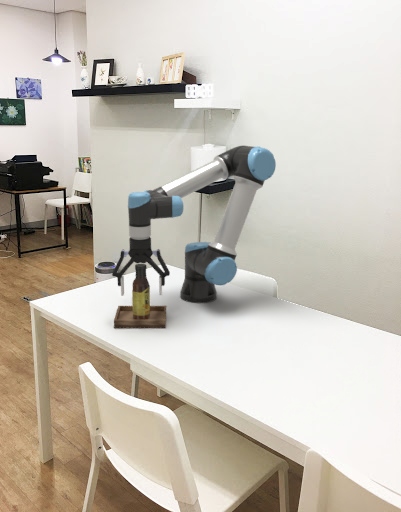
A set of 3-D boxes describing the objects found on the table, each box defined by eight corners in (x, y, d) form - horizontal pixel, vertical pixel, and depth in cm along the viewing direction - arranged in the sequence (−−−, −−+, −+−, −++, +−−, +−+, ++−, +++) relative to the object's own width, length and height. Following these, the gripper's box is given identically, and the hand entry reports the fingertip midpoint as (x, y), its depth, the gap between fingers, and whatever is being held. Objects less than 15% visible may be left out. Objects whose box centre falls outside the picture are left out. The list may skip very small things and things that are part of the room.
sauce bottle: (148, 321, 175) (148, 268, 170) (131, 320, 175) (130, 267, 170) (150, 314, 182) (150, 262, 176) (134, 313, 182) (133, 262, 176)
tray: (166, 313, 186) (166, 305, 185) (165, 328, 172) (165, 320, 172) (118, 313, 185) (118, 305, 184) (114, 328, 172) (113, 320, 171)
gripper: (176, 234, 175) (176, 290, 180) (105, 234, 173) (108, 290, 179) (175, 239, 167) (176, 297, 173) (102, 239, 166) (105, 298, 172)
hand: (141, 294), depth 176 cm, fingers open, 13 cm apart
